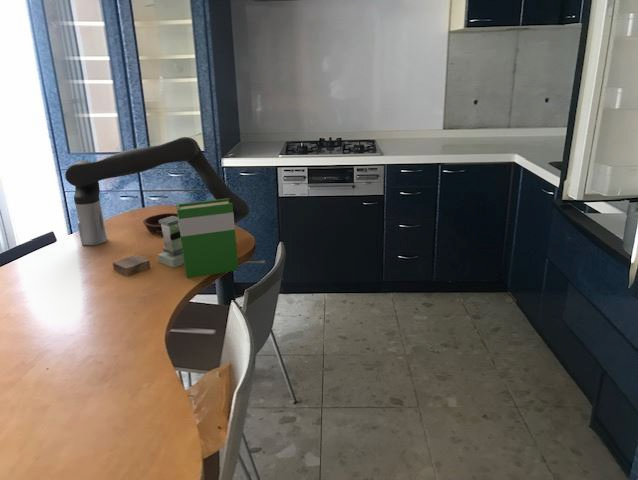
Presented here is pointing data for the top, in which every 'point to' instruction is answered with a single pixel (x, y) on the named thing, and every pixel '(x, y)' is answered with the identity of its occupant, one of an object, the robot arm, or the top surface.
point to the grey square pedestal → (168, 228)
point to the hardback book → (208, 237)
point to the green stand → (171, 259)
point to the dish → (156, 222)
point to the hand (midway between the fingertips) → (166, 236)
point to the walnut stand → (131, 265)
